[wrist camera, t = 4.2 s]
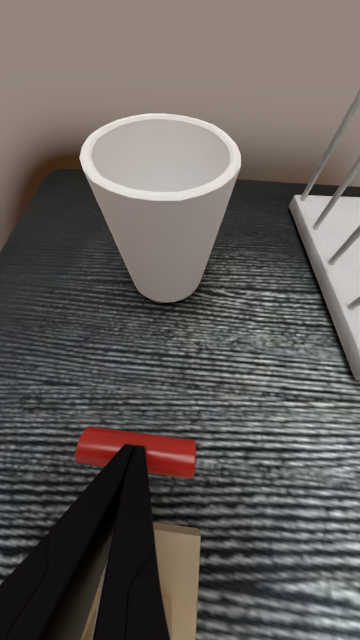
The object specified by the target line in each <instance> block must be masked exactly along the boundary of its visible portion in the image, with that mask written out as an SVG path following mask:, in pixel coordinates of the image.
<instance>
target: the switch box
mask: <svg viewBox="0 0 360 640" xmlns="http://www.w3.org/2000/svg"><path fill="white" fill-rule="evenodd" d="M153 526H154V536H155V545H156V548H155V550H156V554H157V563H158V571H159V579H160V586H161V593H162V599H163V604H164V610H165V615H166V621H167V626H168V630H169V635H170V640H196V621H197V601H198V581H199V562H200V542H201V536H200V532H199V529H198V528H192V527H185V526H178V525H171V524H163V523H156V522H153ZM101 580H102V577H101ZM101 580H100V583H99V586H98V589H97V592H96V595H95V598H94V601H93V604H92V607H91V610H90V613H89V617H88V620H87V623H86V626H85V629H84V632H83V635H82V638H81V640H91V636H92V630H93V625H94V619H95V613H96V608H97V602H98V596H99V591H100V585H101Z"/></svg>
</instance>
